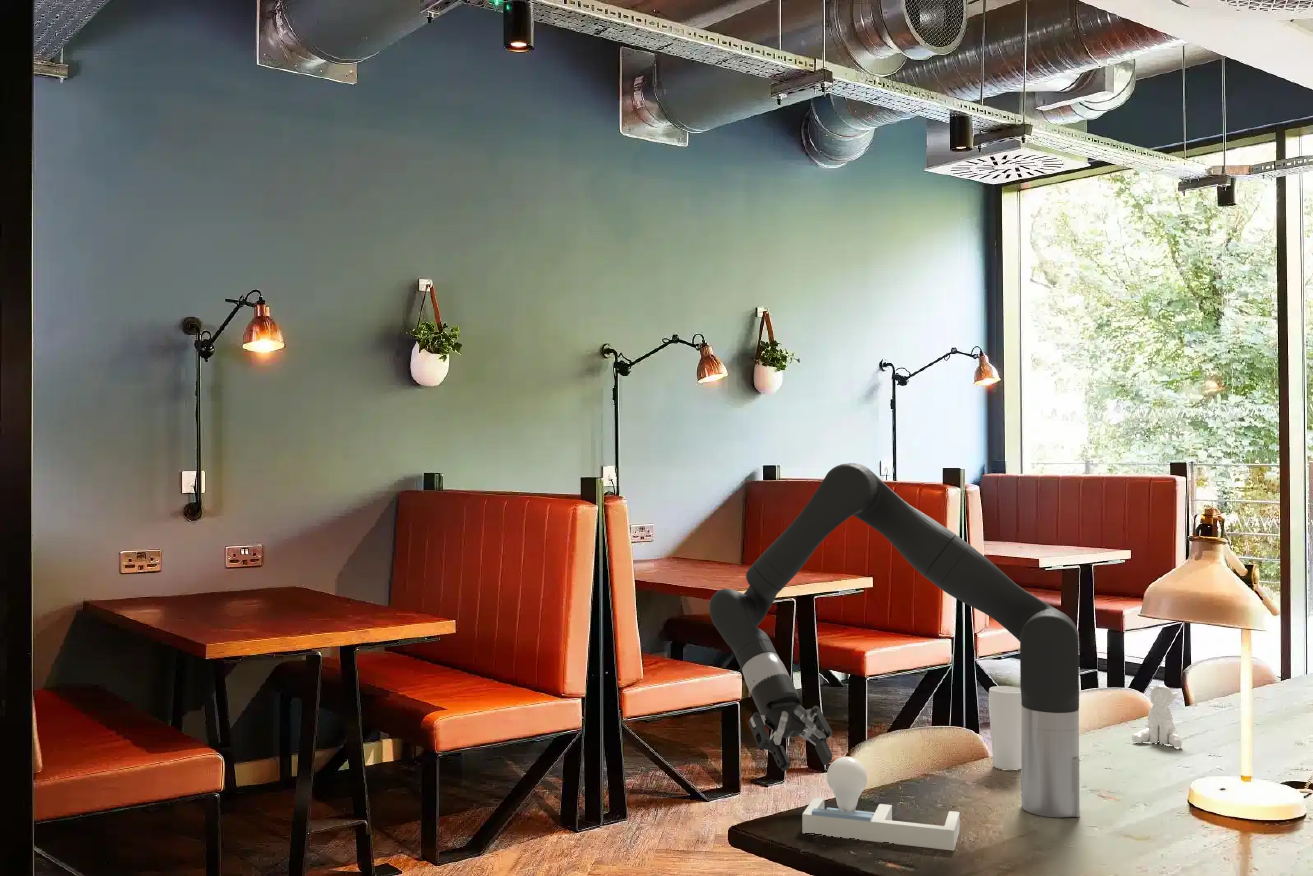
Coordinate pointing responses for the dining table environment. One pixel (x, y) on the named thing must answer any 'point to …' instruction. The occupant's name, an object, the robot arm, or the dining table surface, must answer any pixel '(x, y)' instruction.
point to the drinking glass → (1005, 726)
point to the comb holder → (879, 826)
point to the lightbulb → (847, 782)
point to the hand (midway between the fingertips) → (807, 765)
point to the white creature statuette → (1160, 719)
